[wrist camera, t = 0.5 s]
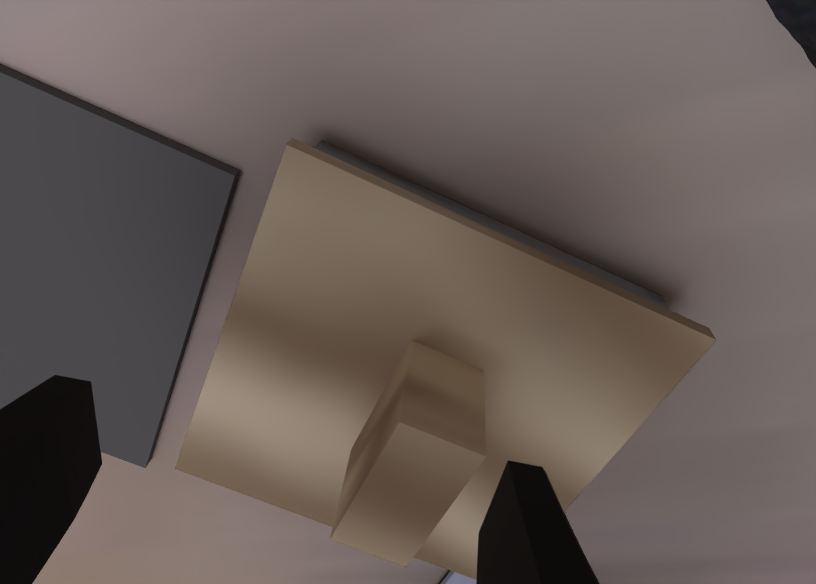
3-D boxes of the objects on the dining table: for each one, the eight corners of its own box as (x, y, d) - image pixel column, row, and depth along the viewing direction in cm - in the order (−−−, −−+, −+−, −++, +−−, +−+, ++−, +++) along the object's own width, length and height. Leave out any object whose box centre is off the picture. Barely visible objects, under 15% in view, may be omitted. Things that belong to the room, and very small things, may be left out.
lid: (496, 573, 24) (501, 686, 20) (181, 456, 22) (125, 555, 18) (708, 328, 18) (771, 427, 14) (292, 138, 16) (239, 193, 12)
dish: (489, 516, 25) (491, 562, 23) (219, 412, 24) (197, 452, 22) (662, 297, 20) (683, 334, 18) (321, 140, 18) (304, 162, 16)
